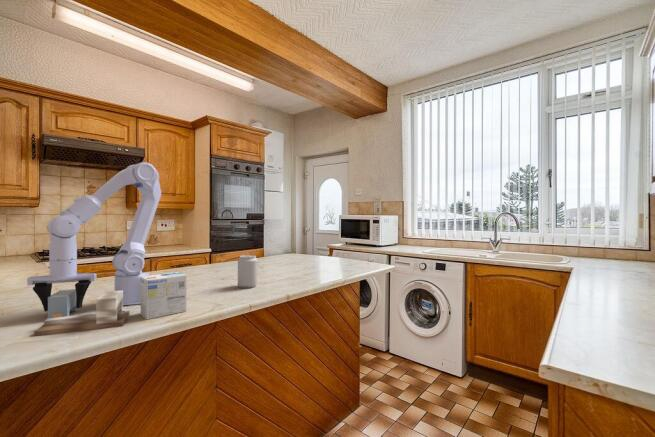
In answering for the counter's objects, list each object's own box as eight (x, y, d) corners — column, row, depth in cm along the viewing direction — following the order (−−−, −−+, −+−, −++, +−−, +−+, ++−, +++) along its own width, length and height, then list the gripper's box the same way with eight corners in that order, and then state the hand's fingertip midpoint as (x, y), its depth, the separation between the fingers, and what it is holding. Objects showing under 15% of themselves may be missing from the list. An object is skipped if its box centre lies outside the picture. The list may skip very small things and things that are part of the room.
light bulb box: (179, 306, 93) (179, 270, 93) (187, 311, 88) (187, 274, 88) (139, 314, 85) (139, 275, 85) (145, 320, 81) (145, 279, 80)
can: (234, 288, 116) (234, 256, 115) (242, 283, 123) (242, 253, 123) (252, 289, 114) (253, 257, 114) (260, 284, 122) (260, 254, 121)
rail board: (129, 314, 85) (129, 289, 85) (122, 325, 76) (122, 298, 76) (51, 322, 78) (51, 295, 78) (34, 335, 70) (34, 305, 69)
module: (77, 309, 88) (77, 288, 88) (66, 319, 81) (66, 296, 80) (60, 311, 87) (60, 290, 87) (46, 321, 79) (46, 298, 79)
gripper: (99, 256, 90) (99, 301, 91) (36, 258, 84) (36, 307, 85) (92, 259, 84) (92, 308, 84) (22, 262, 78) (23, 315, 78)
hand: (63, 308), depth 84 cm, fingers open, 6 cm apart
